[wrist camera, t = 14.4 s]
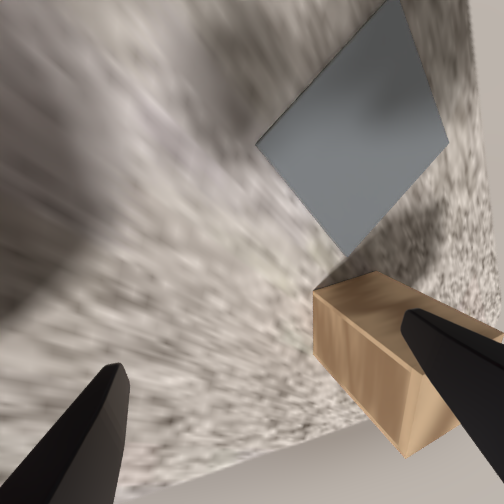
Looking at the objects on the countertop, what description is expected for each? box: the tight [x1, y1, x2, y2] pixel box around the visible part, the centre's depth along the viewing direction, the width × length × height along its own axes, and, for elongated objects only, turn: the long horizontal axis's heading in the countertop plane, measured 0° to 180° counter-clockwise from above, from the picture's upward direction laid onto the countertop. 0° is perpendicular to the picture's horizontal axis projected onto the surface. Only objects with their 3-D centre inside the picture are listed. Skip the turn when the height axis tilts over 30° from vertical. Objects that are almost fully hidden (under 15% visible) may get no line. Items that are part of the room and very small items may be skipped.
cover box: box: [313, 271, 504, 459], centre depth 21 cm, size 7×7×10 cm
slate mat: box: [256, 0, 449, 257], centre depth 20 cm, size 13×12×1 cm
